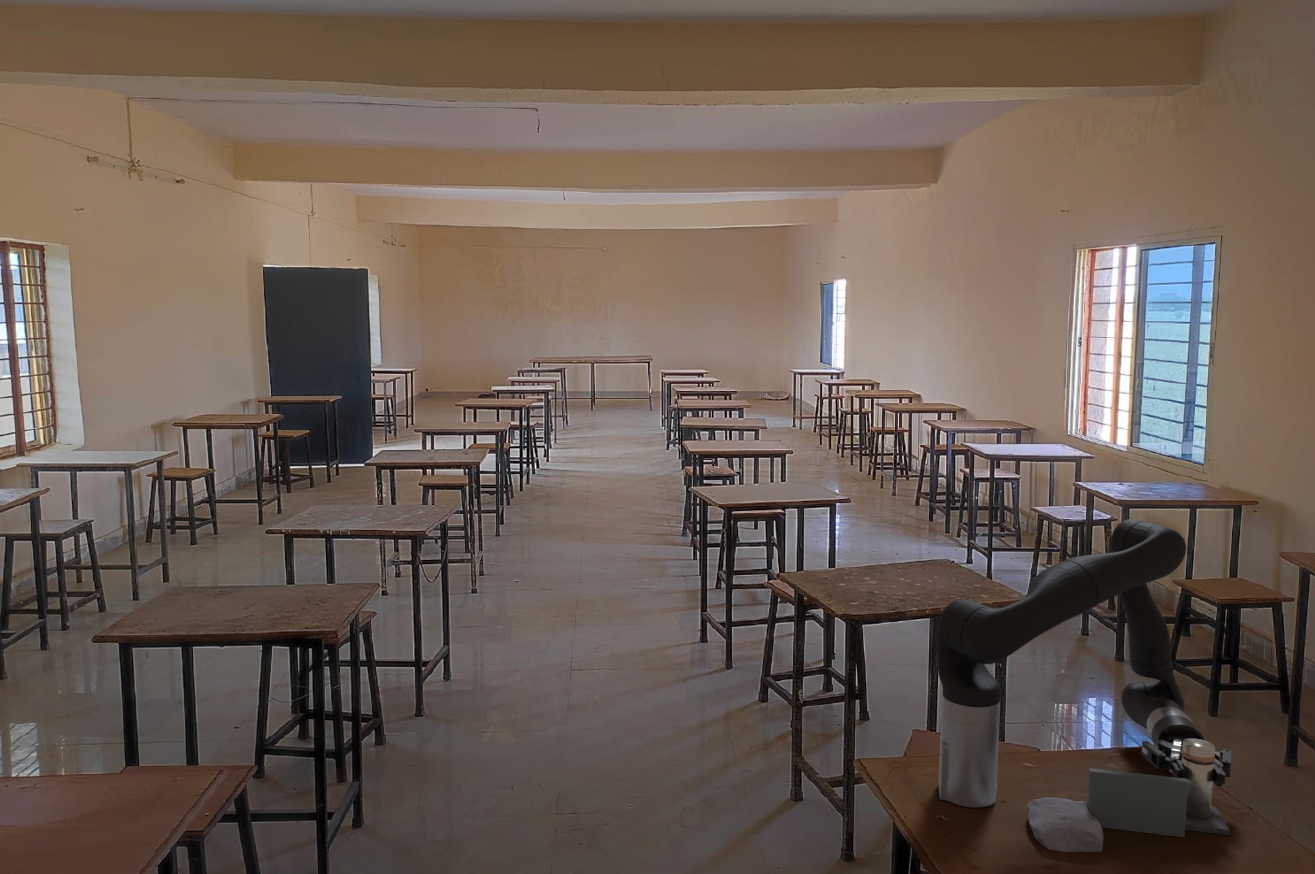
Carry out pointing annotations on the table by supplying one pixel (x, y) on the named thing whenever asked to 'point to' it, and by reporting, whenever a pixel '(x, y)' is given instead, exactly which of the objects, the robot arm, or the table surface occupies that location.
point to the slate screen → (1138, 802)
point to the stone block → (1065, 825)
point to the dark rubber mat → (1207, 823)
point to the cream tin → (1199, 775)
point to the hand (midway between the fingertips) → (1202, 778)
